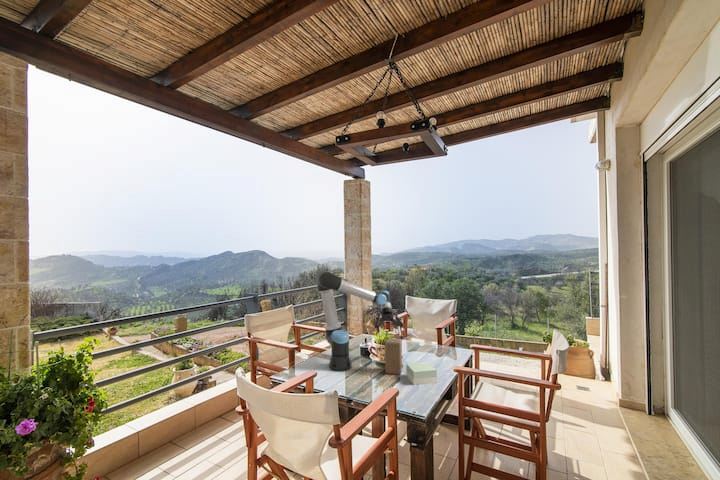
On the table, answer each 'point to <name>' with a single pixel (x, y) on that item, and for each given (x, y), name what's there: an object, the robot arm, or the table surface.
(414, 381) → the tower base slab
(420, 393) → the table surface
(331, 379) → the table surface
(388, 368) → the wooden block
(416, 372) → the tower top slab
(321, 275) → the robot arm
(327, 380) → the table surface
